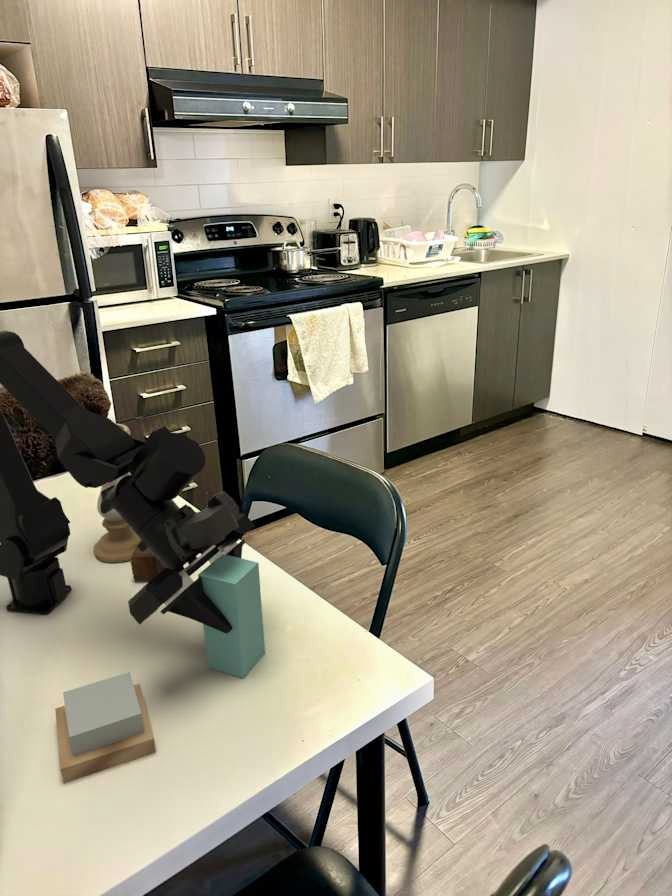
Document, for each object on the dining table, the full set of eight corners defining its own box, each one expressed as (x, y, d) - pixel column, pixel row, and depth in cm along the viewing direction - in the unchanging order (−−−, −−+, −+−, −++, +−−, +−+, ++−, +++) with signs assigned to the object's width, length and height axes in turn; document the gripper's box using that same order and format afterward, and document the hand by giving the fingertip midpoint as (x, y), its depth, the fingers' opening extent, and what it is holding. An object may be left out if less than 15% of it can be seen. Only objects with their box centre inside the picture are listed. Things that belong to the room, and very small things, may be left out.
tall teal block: (208, 667, 82) (197, 574, 77) (231, 643, 86) (222, 554, 81) (243, 678, 80) (235, 584, 75) (264, 653, 84) (258, 562, 79)
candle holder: (103, 536, 113) (83, 422, 105) (155, 534, 113) (139, 420, 105) (86, 564, 105) (63, 442, 97) (143, 562, 105) (125, 440, 97)
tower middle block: (73, 756, 67) (69, 737, 66) (67, 710, 73) (62, 692, 72) (144, 732, 70) (141, 713, 69) (132, 689, 76) (129, 671, 75)
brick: (160, 583, 99) (156, 556, 98) (133, 583, 100) (129, 556, 98) (178, 547, 109) (174, 521, 108) (153, 547, 109) (150, 521, 108)
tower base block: (64, 788, 67) (60, 769, 66) (59, 726, 74) (55, 708, 73) (156, 756, 70) (153, 738, 69) (142, 700, 78) (139, 683, 77)
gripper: (134, 518, 68) (236, 635, 68) (235, 452, 84) (318, 547, 83) (87, 569, 74) (181, 677, 74) (190, 499, 90) (267, 588, 89)
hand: (242, 617), depth 80 cm, fingers closed on tall teal block, 5 cm apart
